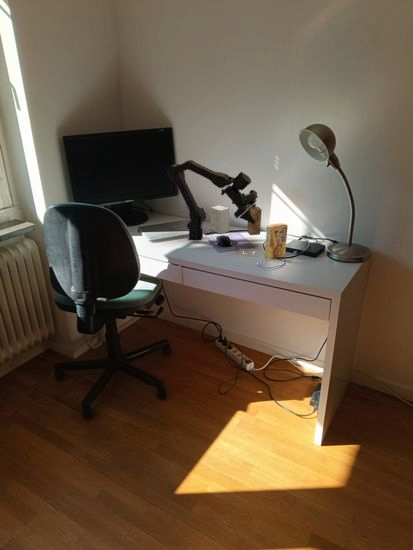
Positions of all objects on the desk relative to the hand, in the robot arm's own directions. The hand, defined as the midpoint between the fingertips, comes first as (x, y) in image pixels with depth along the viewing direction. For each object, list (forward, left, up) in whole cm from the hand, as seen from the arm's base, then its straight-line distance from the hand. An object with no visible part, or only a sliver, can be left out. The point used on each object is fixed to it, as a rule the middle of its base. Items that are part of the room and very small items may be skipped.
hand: (256, 221), depth 200 cm
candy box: (+9, -13, -13) cm, 20 cm away
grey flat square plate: (-3, -10, -13) cm, 16 cm away
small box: (-19, +21, -13) cm, 32 cm away
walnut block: (-1, 0, -6) cm, 6 cm away
